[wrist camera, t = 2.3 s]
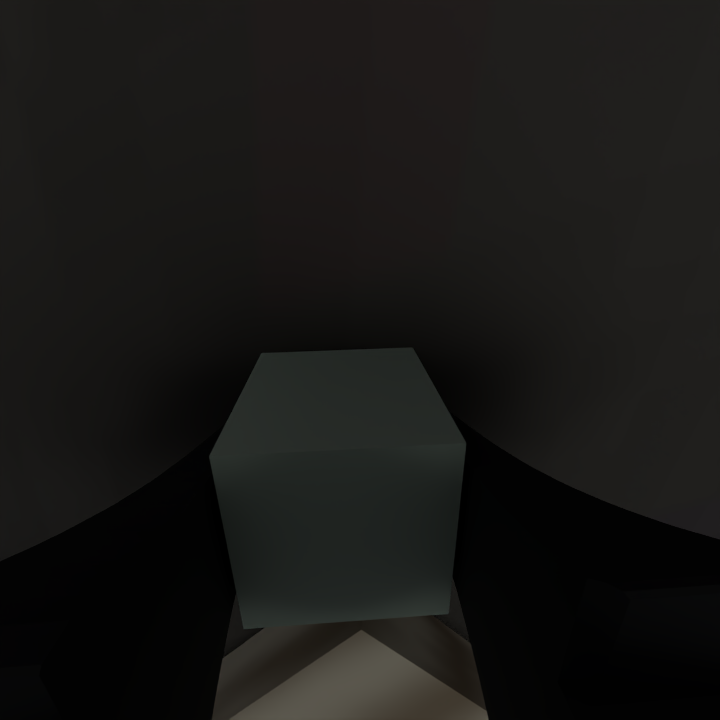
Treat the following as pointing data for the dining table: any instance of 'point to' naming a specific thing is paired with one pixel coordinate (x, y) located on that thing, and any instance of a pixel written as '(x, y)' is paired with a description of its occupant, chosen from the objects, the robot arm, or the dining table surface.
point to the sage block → (339, 489)
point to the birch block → (352, 673)
